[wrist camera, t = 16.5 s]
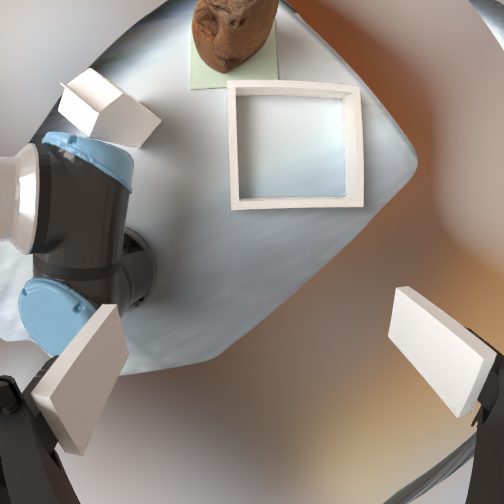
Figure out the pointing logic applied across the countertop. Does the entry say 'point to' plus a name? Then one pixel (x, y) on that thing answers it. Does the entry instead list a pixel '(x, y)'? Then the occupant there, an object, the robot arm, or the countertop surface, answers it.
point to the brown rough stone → (231, 30)
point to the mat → (252, 69)
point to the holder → (351, 141)
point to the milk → (106, 111)
